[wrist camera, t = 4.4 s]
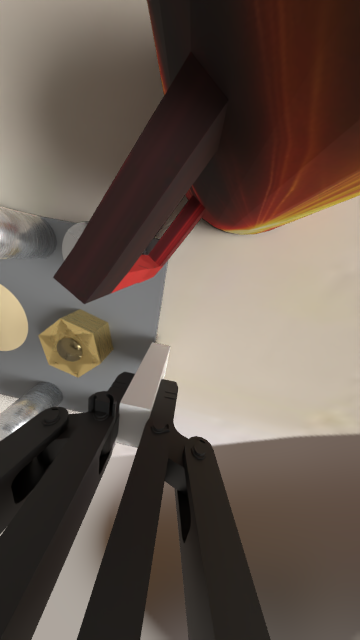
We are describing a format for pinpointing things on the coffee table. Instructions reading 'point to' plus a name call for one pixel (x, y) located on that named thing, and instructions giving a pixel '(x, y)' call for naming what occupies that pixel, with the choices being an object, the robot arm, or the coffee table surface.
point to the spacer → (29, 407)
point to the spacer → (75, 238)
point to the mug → (230, 133)
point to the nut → (77, 343)
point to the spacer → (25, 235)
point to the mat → (56, 302)
